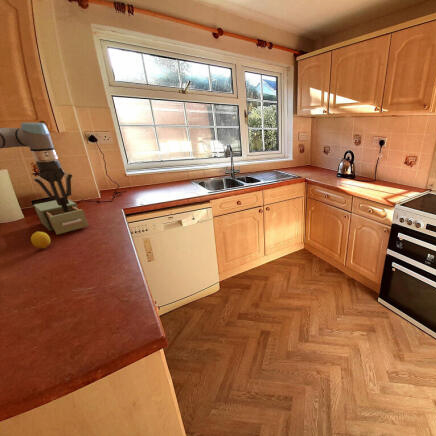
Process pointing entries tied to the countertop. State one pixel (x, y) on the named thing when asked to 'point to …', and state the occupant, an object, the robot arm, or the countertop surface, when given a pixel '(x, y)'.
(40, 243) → the lemon
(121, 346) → the countertop surface
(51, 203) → the cabinet
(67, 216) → the drawer
